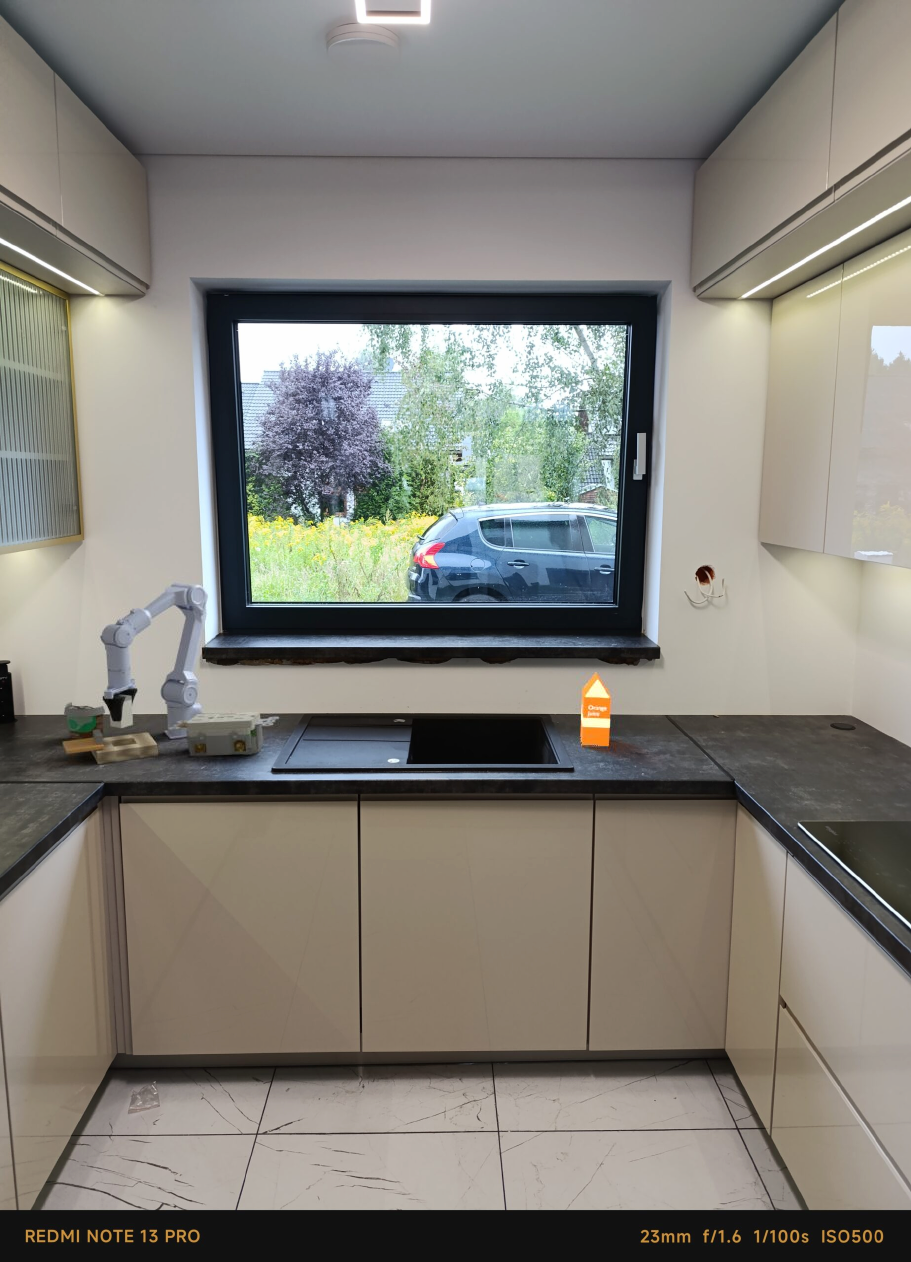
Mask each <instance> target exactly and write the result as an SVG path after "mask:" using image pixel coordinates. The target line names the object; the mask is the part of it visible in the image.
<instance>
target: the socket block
mask: <svg viewBox="0 0 911 1262" xmlns="http://www.w3.org/2000/svg"><path fill="white" fill-rule="evenodd" d="M103 745H104V749H99V750H92V751H90V752H91V753H92V755H93V757H94V758H95V760H96V762H97V765H101V764H108V763H114V762H115V763H116V762H121V761H128V760H129V761H130V760H135V759H141V758H142V759H143V758H147V757H155V756H159V753H158V752H159V751H158V744H157V742H156V741H155V740H154V738H153V737H152V736H151V735H150V733H149V732H148V731H146V732H139V733H132V734H124V735H123V734H122V735H117V736H116V735H115V736H109V737H103Z"/></svg>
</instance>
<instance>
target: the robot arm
mask: <svg viewBox="0 0 911 1262" xmlns="http://www.w3.org/2000/svg"><path fill="white" fill-rule="evenodd" d="M208 598H209V595H208V593H207V591H206V590H205V588H204V587H203V586H202V585H201V584H189V583H182V582H173V583H172V584H171V585H170V586H168V587H166V588H165V590H164V592H162V593H161V594H160V595H159V596H158V597H156V598H155V599H154V600H153V601H151V602H150V603H149V604H147V605H146V606H145V607H144V608H139V607H138V608H132V609H130V610H129V613H128V614H127V615H125V616H123V617H122V618H119V619H117V620H116V623H113V624H111V623H109V624H108V625H106V626H105V627H104V629H103V630H102V632H101V635H100V636H99V638H100V641H101V642H102V643H103V644H104V650H105V651H106V653H105V654H106V665H107V666H106V669H107V684H108V685H107V686H106V689H105V690H104V691H103V695H102V701H103V702H104V704H105V705H106V707H107V708H108V712H109V716H110V715H111V718H112V720H113V721H119V722H120V721H121V720H122V709H123V704H124V700H125V698H126V697H125V696H120V694H122V695H128V696H131V698H132V705H133V703H134V700H135V697H136V694H137V692H138V688H136V679H134V678H132V675H131V672H132V671H131V659H130V646H131V645H132V643H133V642H134V638H135V637H136V636H138V635H139V634H140V633H142V631H144V630H146V629H147V628H149V626H151V623H152V619H154V618H156V616H159V615H160V614H162V613H163V612H165V611H166V610H168V609H170V608H171V607H173V606H175V607H177V608H178V609H179V610H180V611H181V612H182V614H183V615H184V617H185V620H184V624H183V628H182V633H181V637H180V642H179V646H178V650H177V654H176V659H175V663H174V668H173V670H172V671H171V672H169V673H168V674H167V675H166V677H165V680H164V683H163V684H162V685H161V688H160V696H161V697H160V698H162V699H163V700H164V701H165V702H164V703H165V705H166V715H167V716H166V717H167V730H164V733H165V735H166V736H167V737H168V738H169V739H170V740H174V739H179V738H187V732H186V730H187V728H180V729H178V730H168V729H169V728H170V727H174V726H173V725H175V724H176V723H177V722H178V721H183V720H187V721H189V720H191V719H192V718H193V717H195V716H196V715H197V714H203V710H202V705H201V703H200V702H197V699H198V697H199V689H198V686H199V680H198V678H197V677H196V675H195V674H194V672H195V668H196V663H197V659H198V654H199V650H200V645H201V641H202V636H203V632H204V627H205V623H206V619H207V601H208ZM174 729H175V728H174Z"/></svg>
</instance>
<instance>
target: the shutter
mask: <svg viewBox="0 0 911 1262" xmlns="http://www.w3.org/2000/svg"><path fill="white" fill-rule="evenodd" d="M103 738H104V734H103V735H102V733H101V732H100V730H99V729H98V730H93V738H87V739H79V740H72V741H71V740H67V741H65V740H64V741H62V746H63V748H64V750H65V752H66V754H67V755H68V754H69V755H70V754H76V753H77V754H78V753H84V752H85V753H86V752H91V751H92V750H99V749H104V745H103Z"/></svg>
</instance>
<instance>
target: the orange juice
mask: <svg viewBox="0 0 911 1262" xmlns="http://www.w3.org/2000/svg"><path fill="white" fill-rule="evenodd" d="M611 701H612V697H611V694H610V691H609V690H608V688H607V687H606V686H605V684H604V683H603V681H602V679H601V678H600V676H599V675H598V673H597V672H595V673H594V674H593V676H592V677H591V678H590V679H589V680H588V682H587V683H585V686H583V688H582V690H581V706H580V707H581V709H580V710H581V714H580V737H581V738H580V743H581V742H582V744H581V746H582V745H596V746H597V745H598V746H610V744H609V743H610V730H611V729H610V727H611V704H612V702H611Z"/></svg>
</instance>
